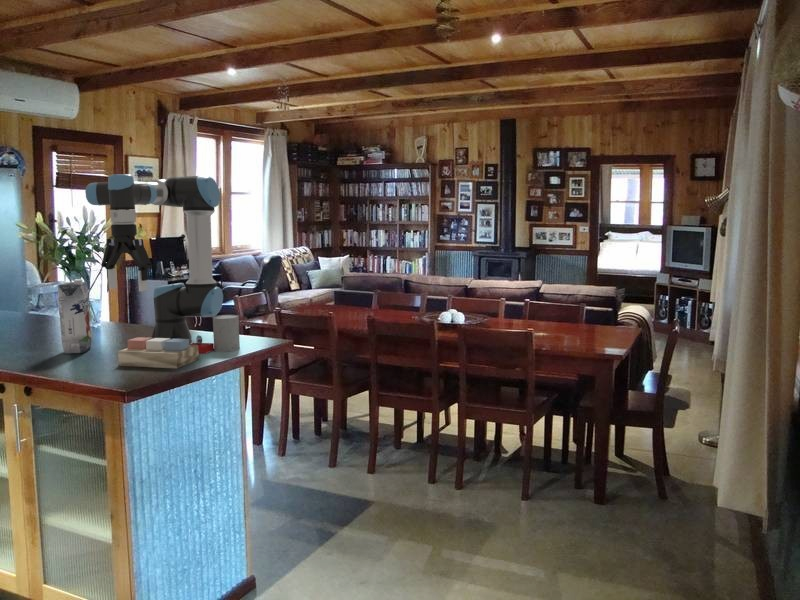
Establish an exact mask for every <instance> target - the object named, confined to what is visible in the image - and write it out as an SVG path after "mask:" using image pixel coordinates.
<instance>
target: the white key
mask: <svg viewBox="0 0 800 600" xmlns="http://www.w3.org/2000/svg"><path fill="white" fill-rule="evenodd" d="M168 340H171V339H170V338H154V339H150V340H147V341H146V350H164V349H165V341H168Z"/></svg>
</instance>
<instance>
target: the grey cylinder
mask: <svg viewBox="0 0 800 600" xmlns="http://www.w3.org/2000/svg"><path fill="white" fill-rule="evenodd" d="M211 318H212V329H213V330H212V331H213V335H212V336H213V343H214V350H213V351H215V352H220V353H221V352H223V353H224V352H225V353H226V352H233V351H234V352H235V351H238V350H240V349H241V346H240V325H239V324H240V322H239V318H240V317H239V315H237V314H219V315H218V314H217V315H215V316H213V317H211Z"/></svg>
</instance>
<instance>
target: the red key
mask: <svg viewBox="0 0 800 600" xmlns="http://www.w3.org/2000/svg"><path fill="white" fill-rule="evenodd" d="M150 339H152V337H141V336H139V337H133V338H130V339H127V340H126V341H127V342H126V343H127V348H128V349H146V341H147V340H150Z"/></svg>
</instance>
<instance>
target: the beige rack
mask: <svg viewBox="0 0 800 600" xmlns="http://www.w3.org/2000/svg"><path fill="white" fill-rule="evenodd" d="M199 355H200V353H198V345H189V348H187V349H184V350H182V351H168V350H165V349H164V350H146V349H128V347H127V348H124V349H120V350H118V351H117V356H118V366H119V367H140V368H142V367H143V368H160V369H161V368H162V369H179V368H182V367H185V366H186V365H189V364H192V363H194V362H196V361H198V360H199V359H200V358H199Z"/></svg>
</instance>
